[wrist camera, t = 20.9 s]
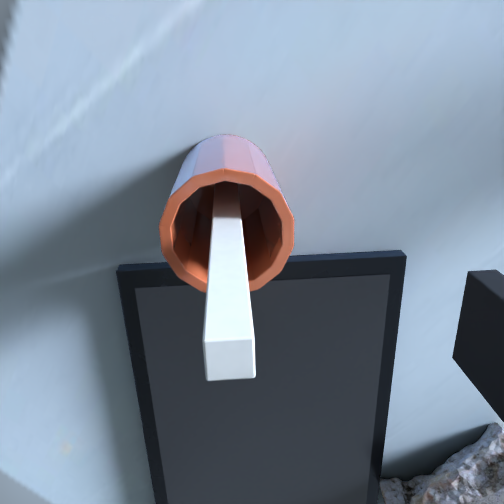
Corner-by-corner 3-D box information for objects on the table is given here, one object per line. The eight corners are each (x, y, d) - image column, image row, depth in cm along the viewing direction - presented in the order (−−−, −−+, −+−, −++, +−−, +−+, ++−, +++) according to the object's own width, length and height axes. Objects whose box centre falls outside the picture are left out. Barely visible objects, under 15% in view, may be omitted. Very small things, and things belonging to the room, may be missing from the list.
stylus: (216, 196, 25) (205, 382, 10) (215, 175, 25) (202, 340, 10) (237, 195, 25) (256, 379, 11) (236, 174, 25) (254, 337, 10)
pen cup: (184, 227, 27) (167, 300, 19) (175, 135, 25) (151, 171, 16) (272, 223, 27) (293, 293, 19) (271, 131, 25) (295, 165, 17)
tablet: (162, 521, 37) (160, 534, 36) (119, 264, 28) (115, 271, 27) (372, 505, 38) (376, 517, 37) (401, 249, 28) (407, 256, 27)
